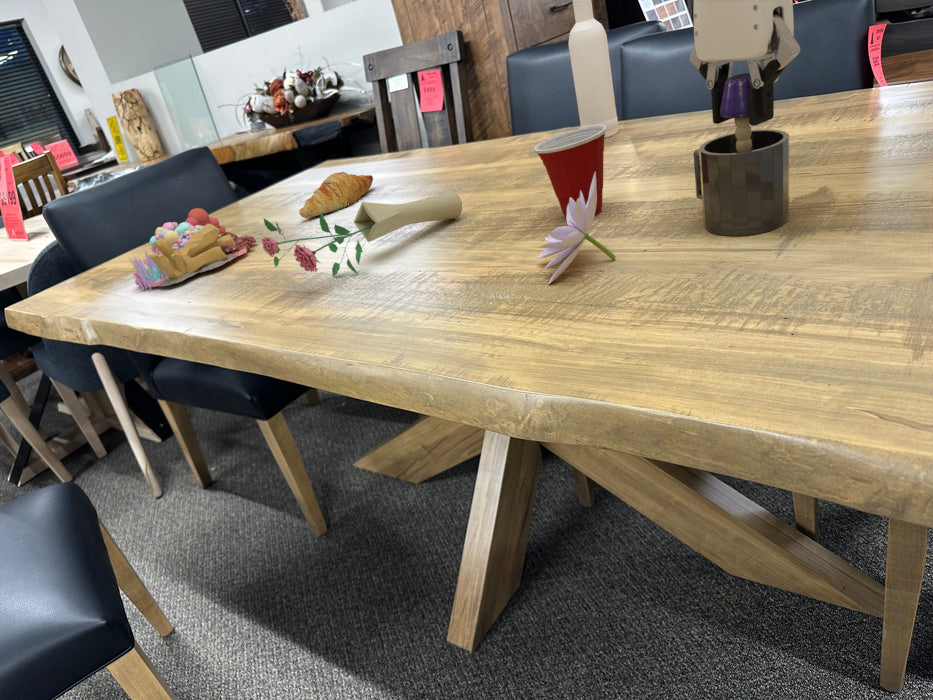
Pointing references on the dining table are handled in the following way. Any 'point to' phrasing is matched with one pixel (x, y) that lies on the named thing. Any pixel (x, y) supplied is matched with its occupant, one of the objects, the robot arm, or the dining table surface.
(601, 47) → the bottle
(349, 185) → the croissant
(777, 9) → the robot arm
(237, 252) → the pastel sphere sculpture
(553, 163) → the plastic cup
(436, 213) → the flower vase
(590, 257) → the dining table surface
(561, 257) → the water lily
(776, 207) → the mug
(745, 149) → the toy lamp
